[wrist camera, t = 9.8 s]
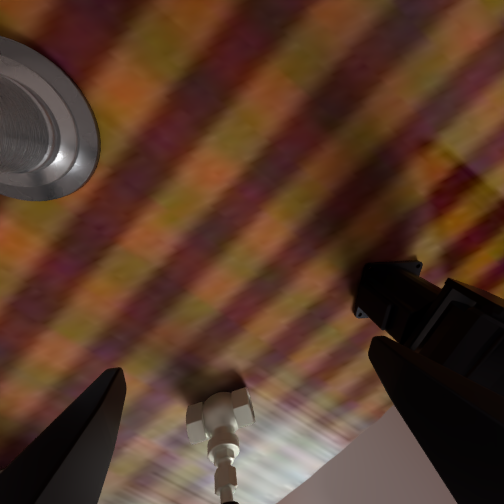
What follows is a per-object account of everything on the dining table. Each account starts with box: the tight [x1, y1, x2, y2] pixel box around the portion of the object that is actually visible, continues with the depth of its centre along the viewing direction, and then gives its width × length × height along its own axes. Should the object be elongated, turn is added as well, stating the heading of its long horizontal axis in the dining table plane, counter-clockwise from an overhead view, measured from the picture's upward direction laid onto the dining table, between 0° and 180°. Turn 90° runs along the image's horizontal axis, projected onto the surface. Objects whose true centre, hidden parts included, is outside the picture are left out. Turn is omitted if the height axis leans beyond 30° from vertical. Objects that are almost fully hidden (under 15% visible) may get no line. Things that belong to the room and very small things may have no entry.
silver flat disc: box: [0, 36, 101, 201], centre depth 14 cm, size 9×9×1 cm
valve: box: [186, 387, 255, 504], centre depth 22 cm, size 7×7×12 cm
